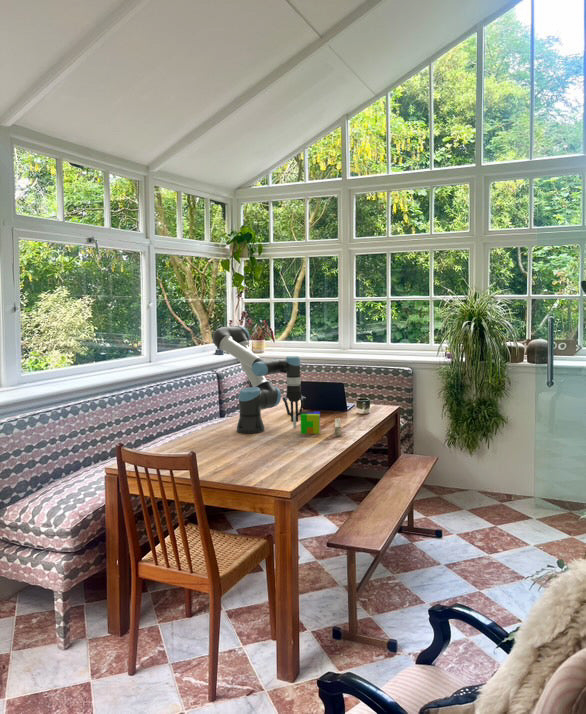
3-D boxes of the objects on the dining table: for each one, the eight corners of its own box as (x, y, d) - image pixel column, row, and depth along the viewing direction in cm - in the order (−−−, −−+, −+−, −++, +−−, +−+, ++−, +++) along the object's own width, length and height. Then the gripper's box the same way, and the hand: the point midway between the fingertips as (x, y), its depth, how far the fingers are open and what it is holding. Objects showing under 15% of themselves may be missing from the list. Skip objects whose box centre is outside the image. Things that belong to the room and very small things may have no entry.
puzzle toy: (320, 429, 343) (320, 411, 342) (319, 433, 333) (319, 415, 332) (302, 429, 344) (301, 411, 343) (300, 433, 334) (300, 415, 333)
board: (335, 436, 327) (335, 426, 326) (335, 427, 349) (335, 418, 348) (340, 436, 327) (340, 426, 326) (340, 427, 348) (340, 418, 348)
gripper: (281, 385, 333) (282, 429, 335) (305, 385, 332) (306, 429, 334) (282, 383, 341) (283, 426, 343) (306, 383, 340) (307, 426, 342)
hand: (294, 427), depth 339 cm, fingers closed
